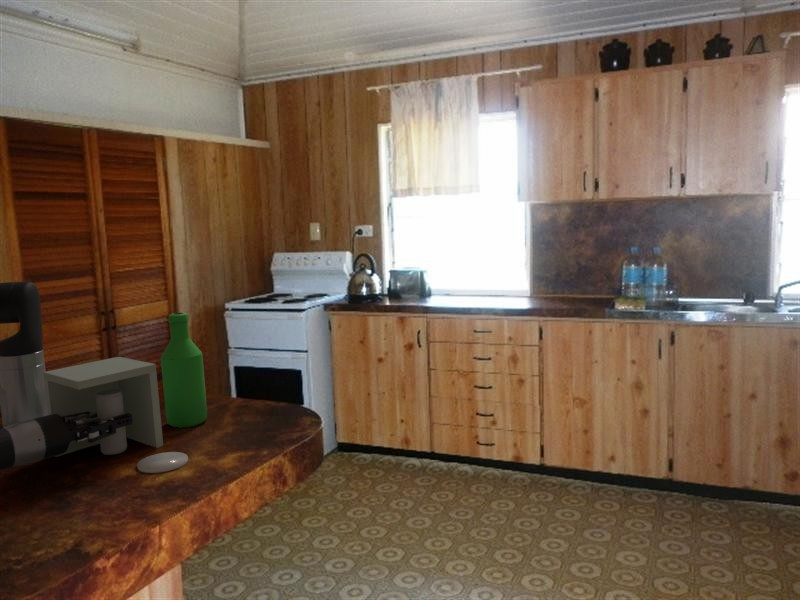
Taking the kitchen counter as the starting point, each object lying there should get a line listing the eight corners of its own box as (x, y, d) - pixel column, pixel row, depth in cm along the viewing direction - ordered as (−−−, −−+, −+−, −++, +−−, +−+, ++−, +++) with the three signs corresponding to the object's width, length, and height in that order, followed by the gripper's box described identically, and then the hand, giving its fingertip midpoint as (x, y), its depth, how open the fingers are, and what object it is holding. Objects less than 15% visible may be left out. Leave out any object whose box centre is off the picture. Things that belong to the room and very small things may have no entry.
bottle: (195, 429, 143) (185, 316, 140) (159, 428, 145) (148, 317, 141) (214, 417, 152) (205, 310, 148) (180, 416, 153) (170, 310, 150)
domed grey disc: (137, 476, 118) (136, 473, 118) (137, 459, 126) (137, 456, 126) (189, 467, 121) (189, 464, 121) (186, 451, 129) (186, 449, 129)
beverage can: (132, 448, 131) (127, 389, 130) (115, 456, 127) (109, 396, 125) (113, 446, 133) (108, 388, 131) (95, 454, 128) (89, 394, 127)
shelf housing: (87, 470, 122) (77, 381, 119) (52, 455, 131) (43, 372, 128) (163, 445, 133) (155, 364, 131) (126, 433, 143) (118, 356, 140)
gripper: (49, 426, 113) (141, 403, 126) (15, 413, 122) (104, 392, 135) (54, 468, 114) (145, 440, 127) (19, 452, 123) (108, 427, 136)
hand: (123, 416), depth 131 cm, fingers closed on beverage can, 4 cm apart
